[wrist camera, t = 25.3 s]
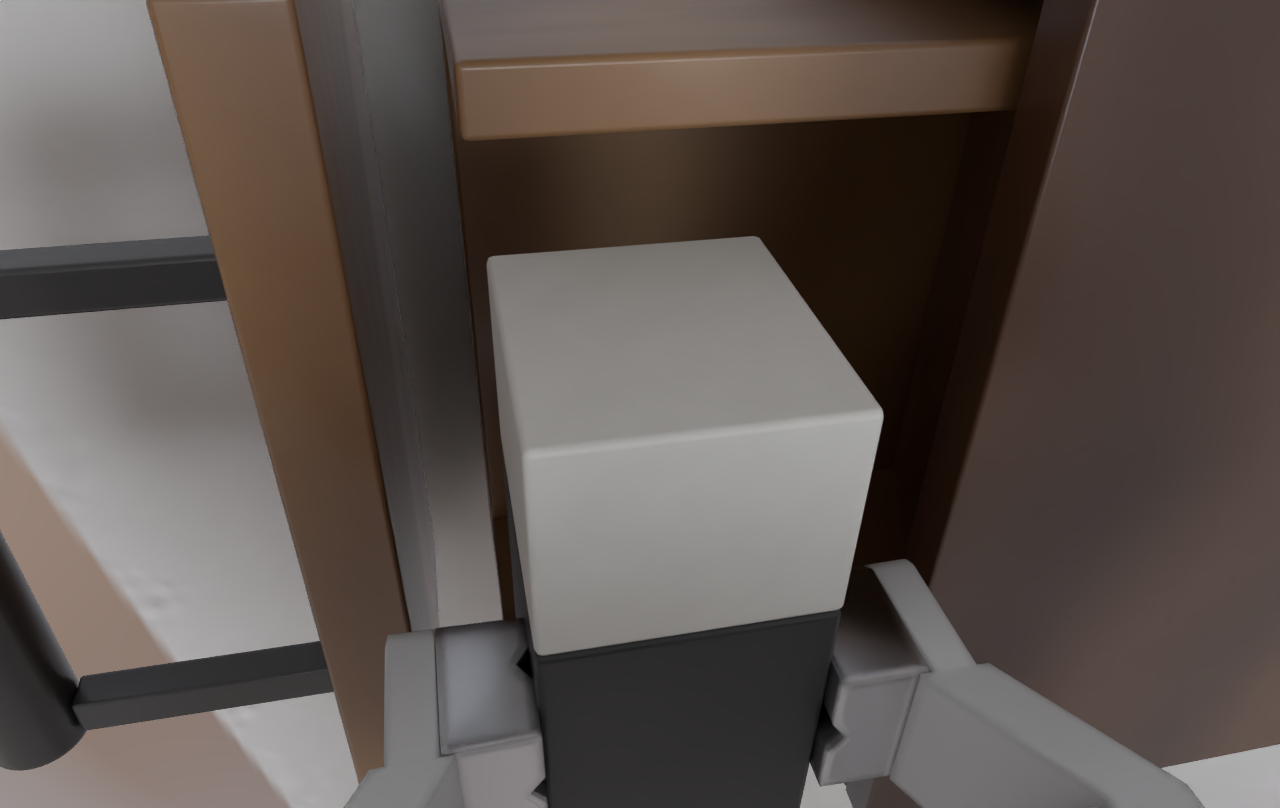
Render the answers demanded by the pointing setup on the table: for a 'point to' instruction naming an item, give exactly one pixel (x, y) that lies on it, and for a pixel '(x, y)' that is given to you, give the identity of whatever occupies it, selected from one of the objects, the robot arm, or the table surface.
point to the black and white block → (676, 516)
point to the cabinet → (1124, 387)
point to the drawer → (518, 224)
